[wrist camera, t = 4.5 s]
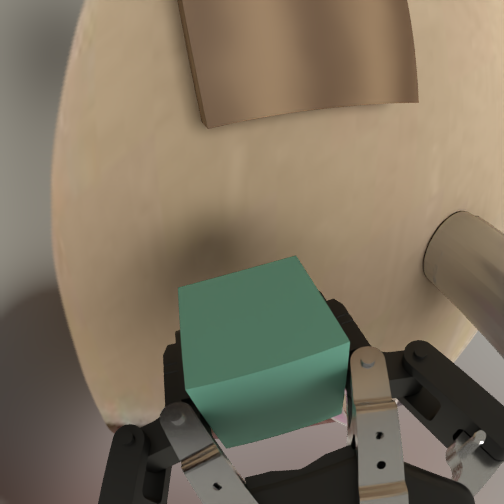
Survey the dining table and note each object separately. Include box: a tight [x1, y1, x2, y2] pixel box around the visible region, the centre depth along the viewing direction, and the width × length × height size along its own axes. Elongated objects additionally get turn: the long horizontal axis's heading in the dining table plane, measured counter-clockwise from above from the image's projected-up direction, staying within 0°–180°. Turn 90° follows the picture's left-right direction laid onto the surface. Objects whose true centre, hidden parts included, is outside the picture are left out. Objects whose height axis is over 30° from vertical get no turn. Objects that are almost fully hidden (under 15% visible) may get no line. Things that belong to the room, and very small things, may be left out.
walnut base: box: [178, 0, 419, 129], centre depth 14 cm, size 14×14×4 cm
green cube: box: [178, 256, 350, 448], centre depth 12 cm, size 5×5×5 cm
